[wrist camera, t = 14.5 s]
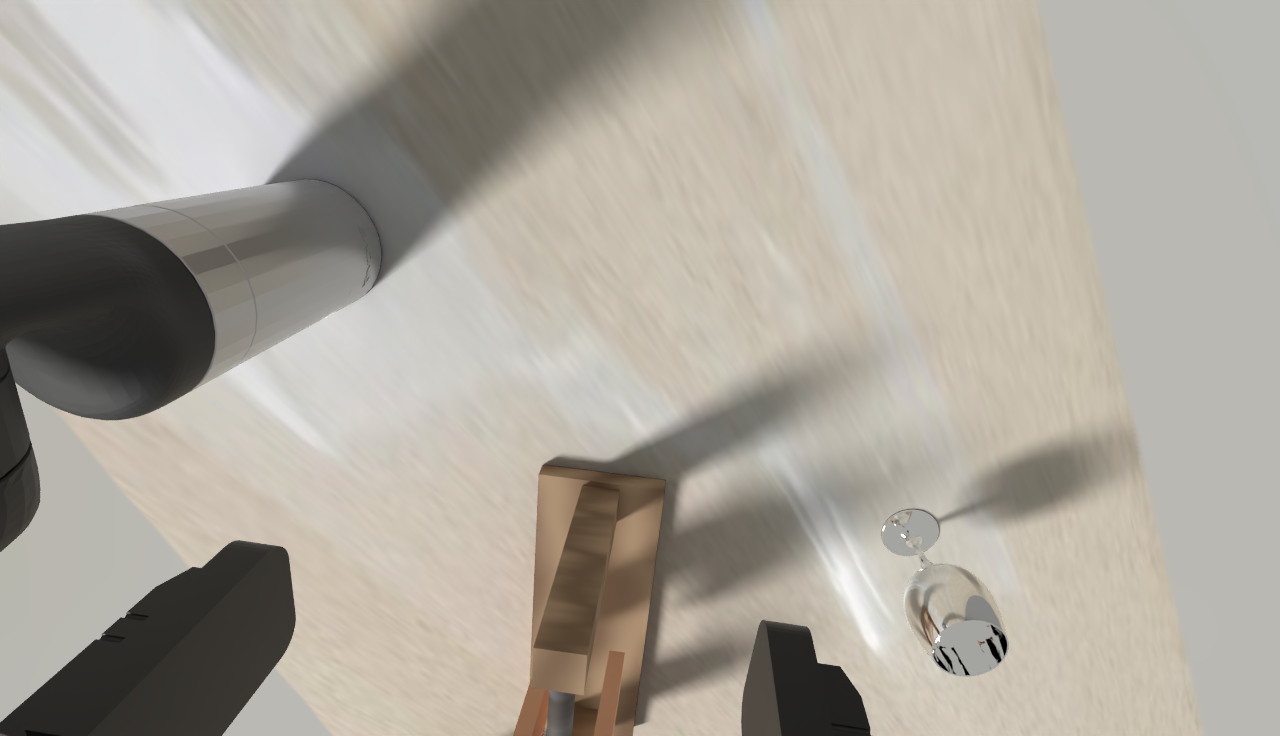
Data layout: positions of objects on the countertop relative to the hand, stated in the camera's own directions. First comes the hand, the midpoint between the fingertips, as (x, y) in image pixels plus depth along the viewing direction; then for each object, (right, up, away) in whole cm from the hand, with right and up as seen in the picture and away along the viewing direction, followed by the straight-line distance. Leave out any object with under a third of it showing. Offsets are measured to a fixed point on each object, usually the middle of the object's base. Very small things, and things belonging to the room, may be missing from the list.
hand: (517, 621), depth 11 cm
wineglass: (+24, -9, +41) cm, 48 cm away
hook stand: (-2, -17, +46) cm, 49 cm away
